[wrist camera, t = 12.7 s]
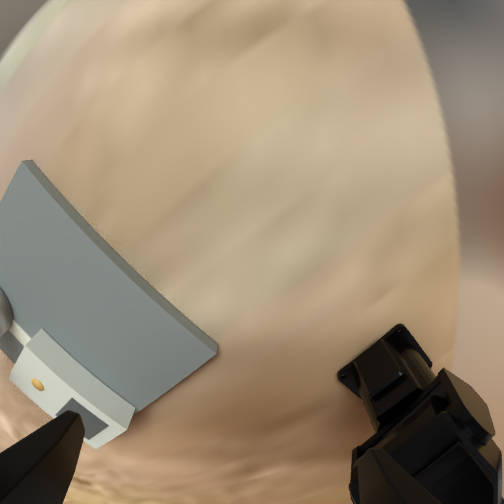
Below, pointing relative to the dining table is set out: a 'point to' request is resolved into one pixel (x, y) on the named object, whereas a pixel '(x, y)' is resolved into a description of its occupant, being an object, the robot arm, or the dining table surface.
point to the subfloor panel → (88, 297)
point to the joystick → (5, 314)
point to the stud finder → (70, 390)
